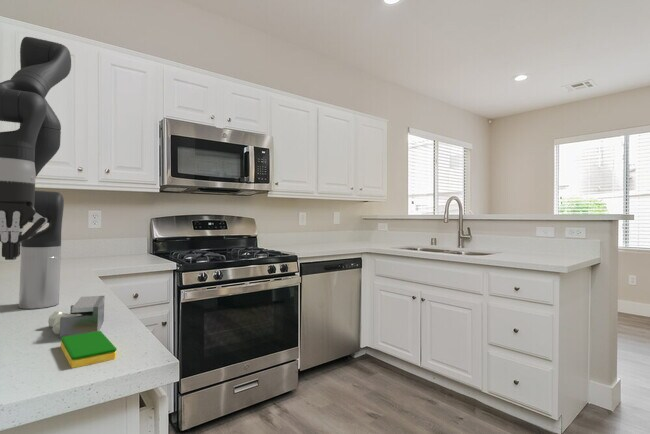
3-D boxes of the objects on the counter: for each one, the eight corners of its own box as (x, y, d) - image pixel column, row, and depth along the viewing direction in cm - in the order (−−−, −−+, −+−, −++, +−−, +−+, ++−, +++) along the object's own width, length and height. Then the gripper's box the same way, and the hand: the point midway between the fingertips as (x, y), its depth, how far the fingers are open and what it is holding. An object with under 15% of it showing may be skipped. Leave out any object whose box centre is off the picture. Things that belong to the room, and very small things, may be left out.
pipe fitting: (63, 339, 81) (89, 327, 87) (62, 322, 81) (88, 312, 87) (34, 335, 83) (61, 324, 89) (33, 318, 82) (61, 309, 89)
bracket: (70, 323, 90) (71, 297, 90) (103, 320, 93) (104, 295, 93) (59, 338, 79) (60, 308, 79) (97, 335, 82) (98, 306, 82)
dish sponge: (100, 341, 80) (100, 330, 80) (116, 361, 70) (117, 348, 70) (60, 348, 75) (60, 336, 75) (71, 370, 65) (72, 357, 65)
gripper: (54, 184, 86) (51, 257, 86) (-19, 180, 81) (-22, 258, 81) (46, 181, 80) (43, 260, 79) (-35, 177, 74) (-38, 262, 74)
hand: (10, 259), depth 80 cm, fingers closed
